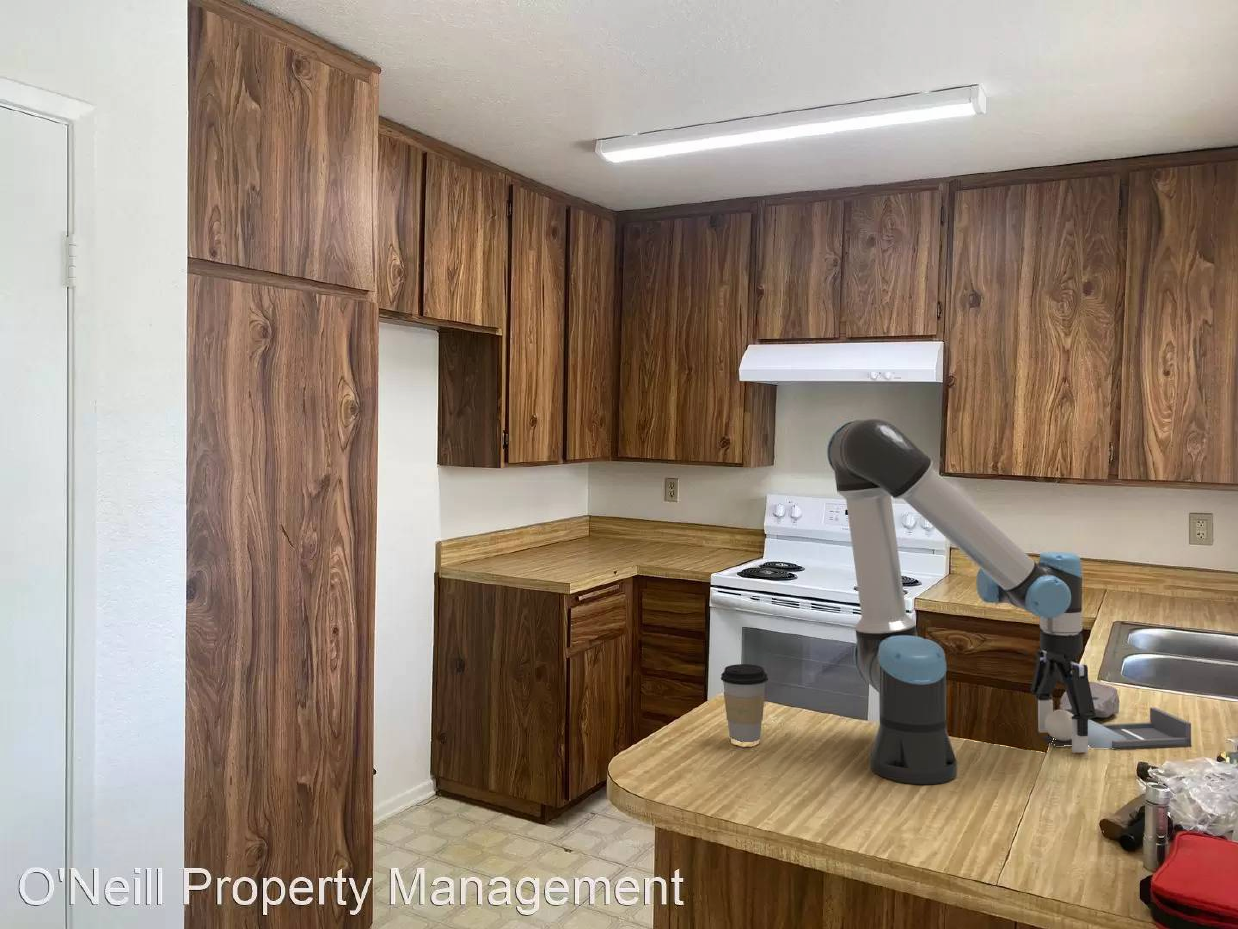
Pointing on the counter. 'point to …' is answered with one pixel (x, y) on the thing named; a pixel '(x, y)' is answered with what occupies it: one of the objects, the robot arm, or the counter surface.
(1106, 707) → the stone
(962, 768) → the counter surface
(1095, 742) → the grey wedge
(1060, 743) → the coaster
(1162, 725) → the tray
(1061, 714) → the ball
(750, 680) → the coffee cup
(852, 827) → the counter surface
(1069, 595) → the robot arm
